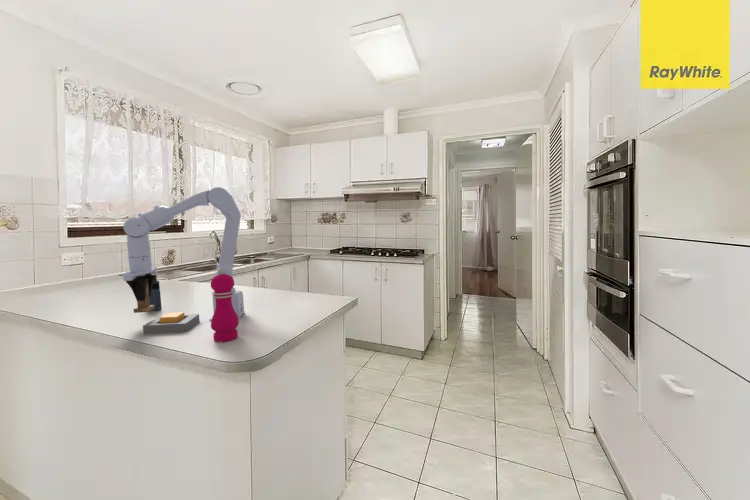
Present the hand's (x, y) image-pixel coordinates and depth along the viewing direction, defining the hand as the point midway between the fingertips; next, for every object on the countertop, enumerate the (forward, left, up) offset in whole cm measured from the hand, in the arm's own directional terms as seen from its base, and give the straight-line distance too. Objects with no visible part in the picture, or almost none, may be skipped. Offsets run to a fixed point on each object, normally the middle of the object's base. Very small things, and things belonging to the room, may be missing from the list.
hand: (143, 299), depth 102 cm
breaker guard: (-9, +2, -9) cm, 13 cm away
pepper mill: (-29, +15, -9) cm, 34 cm away
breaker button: (-9, +2, -7) cm, 12 cm away
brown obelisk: (0, 0, -4) cm, 4 cm away
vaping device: (+8, -21, -9) cm, 24 cm away
